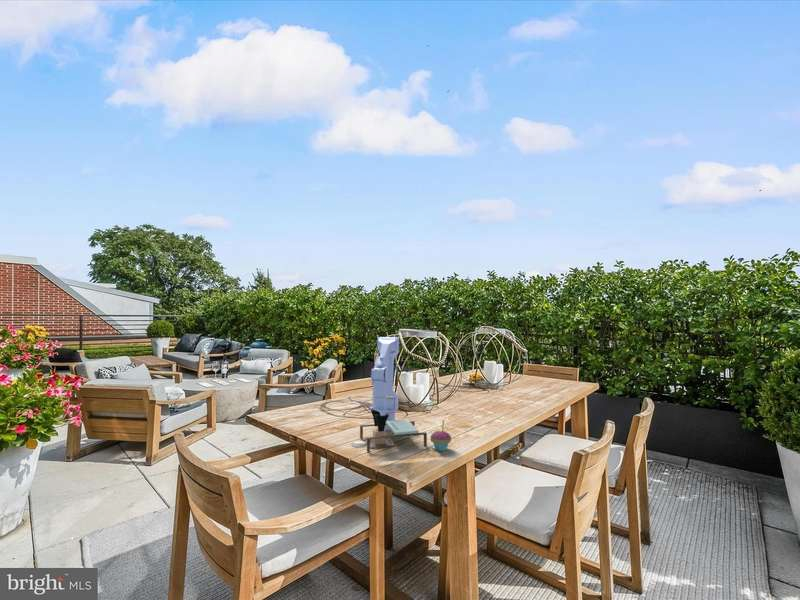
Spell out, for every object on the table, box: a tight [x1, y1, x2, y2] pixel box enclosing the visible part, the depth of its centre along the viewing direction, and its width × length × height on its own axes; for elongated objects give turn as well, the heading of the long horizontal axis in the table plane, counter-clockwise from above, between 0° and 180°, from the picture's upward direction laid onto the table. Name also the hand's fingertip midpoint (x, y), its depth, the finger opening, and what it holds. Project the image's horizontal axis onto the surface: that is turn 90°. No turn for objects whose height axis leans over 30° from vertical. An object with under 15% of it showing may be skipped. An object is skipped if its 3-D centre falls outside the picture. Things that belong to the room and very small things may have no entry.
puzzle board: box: [350, 420, 428, 452], centre depth 165 cm, size 18×30×6 cm, turn 105°
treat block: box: [372, 428, 387, 445], centre depth 164 cm, size 4×4×5 cm
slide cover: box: [386, 418, 420, 435], centre depth 166 cm, size 17×10×1 cm, turn 15°
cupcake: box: [430, 418, 452, 452], centre depth 159 cm, size 9×8×12 cm
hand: (379, 428), depth 164 cm, fingers open, 7 cm apart
